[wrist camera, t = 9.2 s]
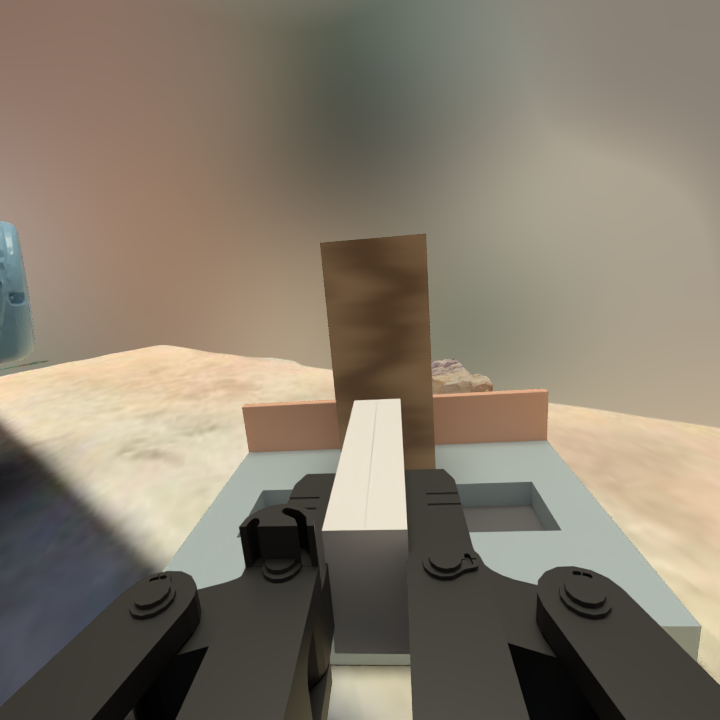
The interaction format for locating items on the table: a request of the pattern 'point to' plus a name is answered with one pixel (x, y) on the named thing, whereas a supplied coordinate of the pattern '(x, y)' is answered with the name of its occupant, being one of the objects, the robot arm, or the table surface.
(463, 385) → the mineral specimen
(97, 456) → the table surface
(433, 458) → the walnut block
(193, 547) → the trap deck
